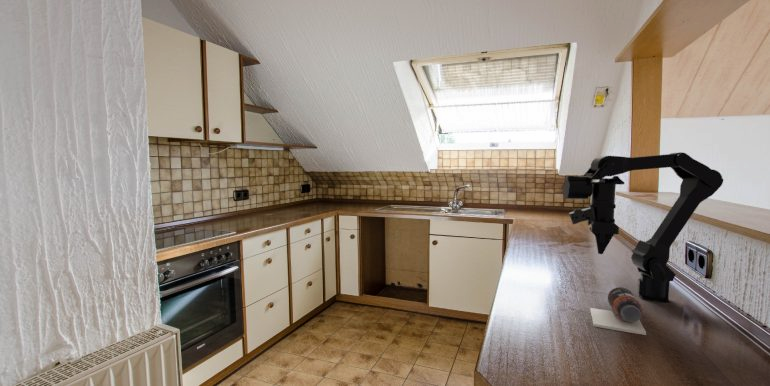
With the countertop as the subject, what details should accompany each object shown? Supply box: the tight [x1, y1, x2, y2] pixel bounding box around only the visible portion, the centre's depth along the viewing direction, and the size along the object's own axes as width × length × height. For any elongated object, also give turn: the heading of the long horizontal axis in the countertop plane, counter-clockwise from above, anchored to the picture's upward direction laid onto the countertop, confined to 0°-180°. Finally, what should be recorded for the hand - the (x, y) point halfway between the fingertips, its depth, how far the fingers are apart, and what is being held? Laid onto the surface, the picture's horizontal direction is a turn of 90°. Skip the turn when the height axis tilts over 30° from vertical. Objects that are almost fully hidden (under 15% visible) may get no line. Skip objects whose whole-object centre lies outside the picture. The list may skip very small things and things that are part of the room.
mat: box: [589, 307, 647, 336], centre depth 88 cm, size 10×11×1 cm
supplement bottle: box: [607, 287, 644, 322], centre depth 89 cm, size 6×6×11 cm
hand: (600, 253), depth 107 cm, fingers closed
